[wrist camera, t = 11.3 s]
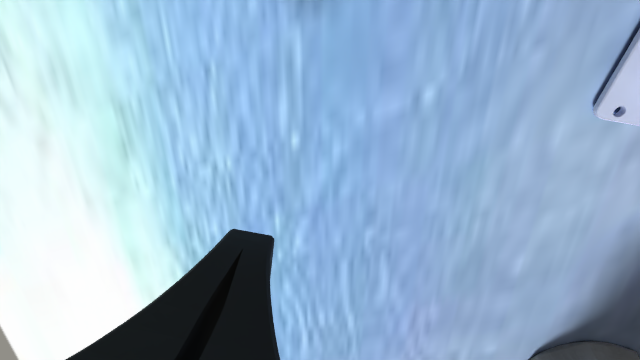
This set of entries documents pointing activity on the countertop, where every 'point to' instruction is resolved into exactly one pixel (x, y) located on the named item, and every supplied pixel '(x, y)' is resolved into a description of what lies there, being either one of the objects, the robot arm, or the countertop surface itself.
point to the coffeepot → (587, 352)
